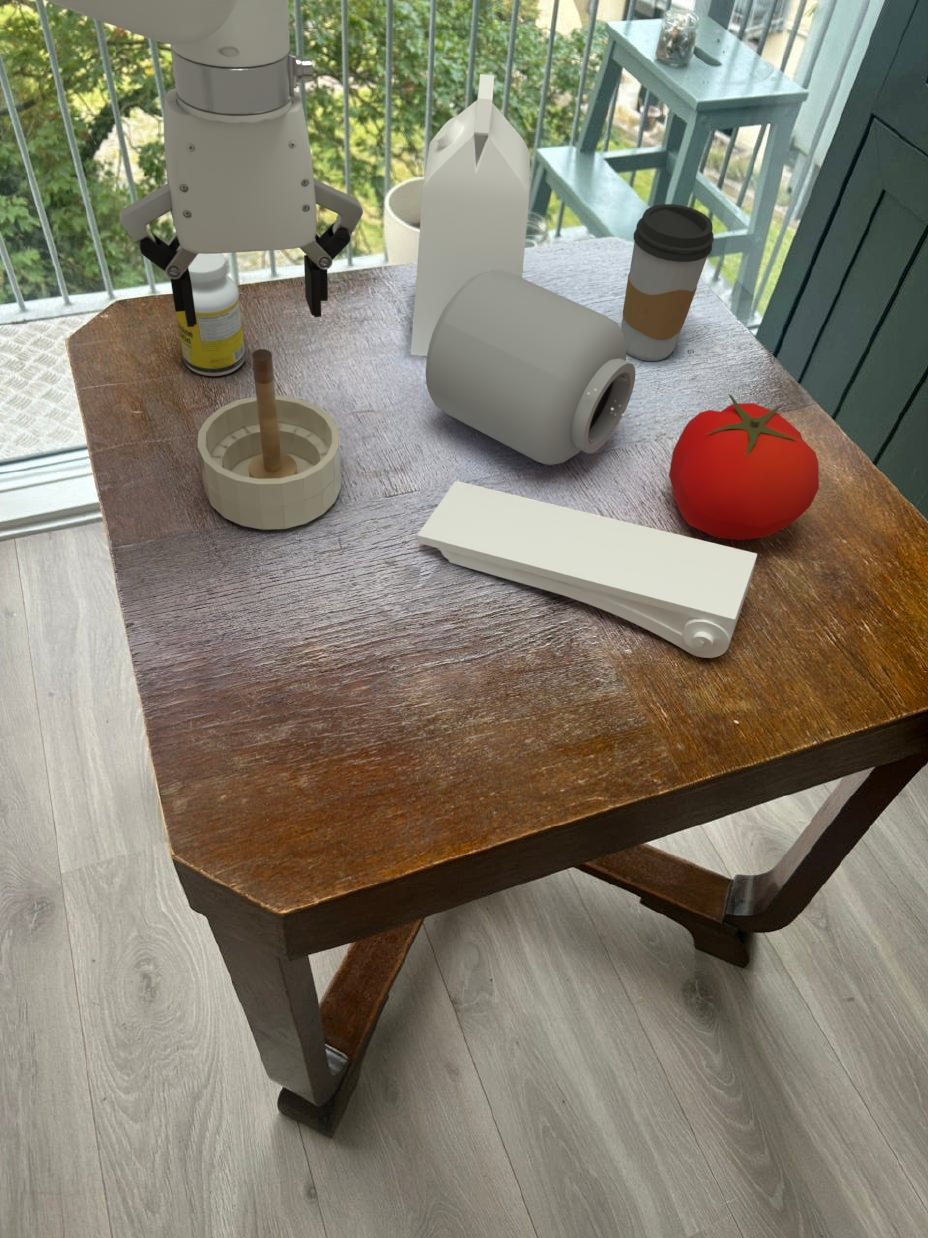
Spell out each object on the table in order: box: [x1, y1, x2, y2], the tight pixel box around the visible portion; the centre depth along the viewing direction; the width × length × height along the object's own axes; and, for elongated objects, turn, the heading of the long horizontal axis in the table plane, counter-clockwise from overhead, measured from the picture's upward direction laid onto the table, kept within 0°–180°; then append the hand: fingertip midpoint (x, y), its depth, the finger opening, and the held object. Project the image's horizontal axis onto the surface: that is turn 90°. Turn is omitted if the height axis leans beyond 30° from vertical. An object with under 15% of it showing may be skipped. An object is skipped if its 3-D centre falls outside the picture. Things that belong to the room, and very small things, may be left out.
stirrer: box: [248, 348, 298, 479], centre depth 84 cm, size 4×4×14 cm
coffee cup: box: [620, 203, 714, 362], centre depth 104 cm, size 8×8×15 cm
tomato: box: [668, 393, 820, 541], centre depth 87 cm, size 12×13×12 cm
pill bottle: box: [172, 253, 246, 377], centre depth 97 cm, size 6×6×12 cm
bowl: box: [196, 394, 342, 531], centre depth 87 cm, size 12×12×6 cm
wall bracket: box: [416, 480, 758, 659], centre depth 84 cm, size 10×7×28 cm
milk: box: [410, 73, 531, 357], centre depth 100 cm, size 12×12×26 cm
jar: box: [425, 270, 674, 466], centre depth 92 cm, size 19×15×25 cm
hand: (252, 312), depth 75 cm, fingers open, 9 cm apart
